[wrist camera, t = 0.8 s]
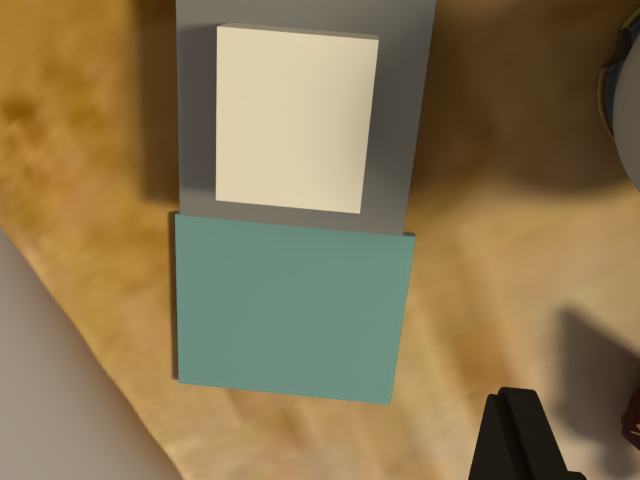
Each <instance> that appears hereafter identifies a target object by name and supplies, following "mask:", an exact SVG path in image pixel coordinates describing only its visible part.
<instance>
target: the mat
mask: <svg viewBox="0 0 640 480" xmlns="http://www.w3.org/2000/svg"><path fill="white" fill-rule="evenodd" d="M175 241H176V286H177V332H178V377H179V383H182V384H192V385H202V386H212V387H222V388H231V389H241V390H251V391H261V392H271V393H280V394H290V395H300V396H310V397H319V398H329V399H339V400H349V401H359V402H368V403H378V404H388V405H390V403H391V396H392V389H393V383H394V376H395V369H396V363H397V356H398V350H399V343H400V336H401V330H402V323H403V316H404V310H405V303H406V297H407V290H408V283H409V277H410V270H411V263H412V257H413V250H414V244H415V233H403V236H394V235H384V234H373V233H362V232H352V231H341V230H331V229H320V228H309V227H299V226H288V225H278V224H267V223H256V222H246V221H235V220H225V219H214V218H203V217H193V216H182V215H180V211H177V212H176V213H175Z"/></svg>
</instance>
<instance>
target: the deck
mask: <svg viewBox="0 0 640 480" xmlns="http://www.w3.org/2000/svg"><path fill="white" fill-rule="evenodd" d="M436 1H437V0H176V38H177V92H178V145H179V199H180V215H182V216H193V217H203V218H214V219H225V220H235V221H246V222H256V223H267V224H278V225H288V226H299V227H309V228H320V229H331V230H341V231H352V232H362V233H373V234H384V235H394V236H403V233H404V226H405V219H406V212H407V205H408V198H409V191H410V184H411V177H412V170H413V163H414V156H415V149H416V142H417V135H418V128H419V121H420V114H421V107H422V100H423V93H424V85H425V78H426V71H427V64H428V57H429V50H430V43H431V36H432V29H433V22H434V15H435V8H436ZM228 22H230V23H242V24H253V25H265V26H277V27H289V28H300V29H312V30H324V31H336V32H347V33H359V34H371V35H378V39H379V42H378V52H377V61H376V70H375V79H374V88H373V97H372V107H371V116H370V125H369V134H368V143H367V152H366V162H365V171H364V180H363V189H362V198H361V207H360V214H357V213H347V212H336V211H325V210H315V209H304V208H293V207H282V206H272V205H261V204H250V203H240V202H229V201H218V200H216V111H217V26H220V25H223V24H226V23H228Z"/></svg>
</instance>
